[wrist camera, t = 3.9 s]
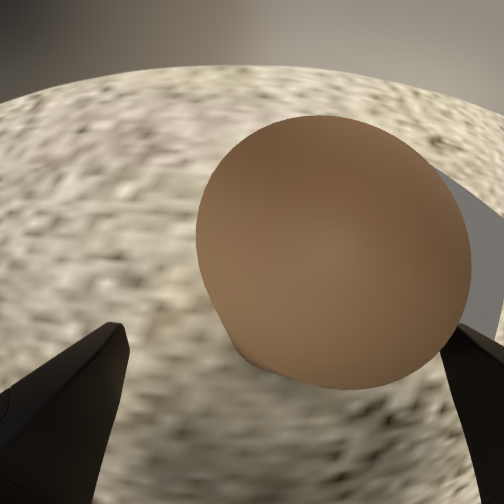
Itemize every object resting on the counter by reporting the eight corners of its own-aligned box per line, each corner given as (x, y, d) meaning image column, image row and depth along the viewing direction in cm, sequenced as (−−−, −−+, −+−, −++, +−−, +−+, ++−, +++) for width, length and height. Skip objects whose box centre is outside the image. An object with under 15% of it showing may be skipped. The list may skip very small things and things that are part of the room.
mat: (484, 364, 16) (487, 364, 15) (346, 284, 17) (348, 283, 17) (510, 228, 19) (512, 226, 19) (401, 150, 21) (403, 147, 21)
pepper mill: (292, 386, 15) (414, 435, 4) (211, 340, 16) (133, 280, 4) (335, 307, 17) (485, 197, 5) (258, 263, 18) (286, 84, 6)
